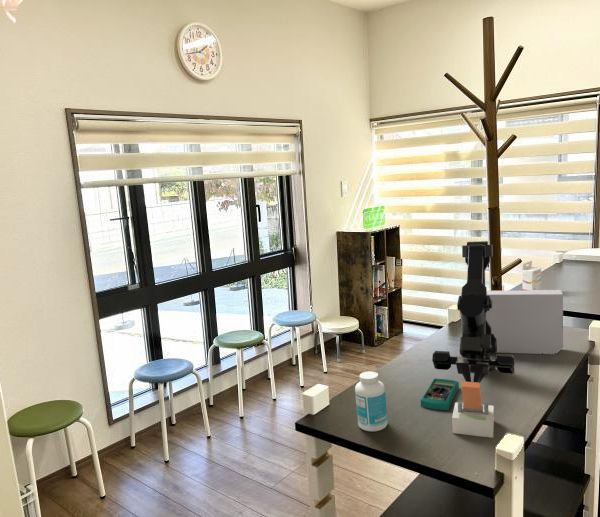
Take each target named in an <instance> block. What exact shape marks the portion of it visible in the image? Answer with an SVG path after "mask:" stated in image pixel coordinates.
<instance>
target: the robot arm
mask: <svg viewBox="0 0 600 517" xmlns="http://www.w3.org/2000/svg"><path fill="white" fill-rule="evenodd" d="M461 249H462V250H461V253H462V255H461V256H462V258H464V262H465V264H466V266H467V269H466V270H467V273H466V274H467V275H466V283H465V284H463V286H461V295H458V298H457V304H456V308H457V311H459V317H460V322H461V336H460V338H459V339H460V340H459V355H460V356H451V353H450V351H446V350H444V351H443V350H434V352H433V353H432V359H431V360H432V363H433V367H434V369H435V370H443V371H448V370H450V369H451V368H452V365H454V366H456V370H457V373H458V374H460V375H462V376H463V378H464V379H463V380H464V382H477V383H480V384H481V382H482V381H483V380H484V378H485V377H486V376H490V373H491V372H492V371H494V370H496V371H498V372H499V374H504V375H505V374H507V375H514V374H515V357H514V356H513V354H509V353H498V352H497V339H496V338H495V336H494V334H492V329H491V326H490V325H489V323H488V322H487V320H486V313H487V311H489V310H490V309H492V300H491V299H490V296H487V291H488V288H487V286H486V270H487V268H488V266H489V265H490V263H491V258H492V257H493V244H489V241H488V240H485V241H484V240H483V241H482V240H481V241H467V242H466V245H461ZM495 353H496V356H495V358H491V354H493V355H495ZM472 373H474V374H473V379H472V375H471V374H472ZM472 380H473V381H472Z"/></svg>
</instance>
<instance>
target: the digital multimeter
mask: <svg viewBox="0 0 600 517" xmlns="http://www.w3.org/2000/svg"><path fill="white" fill-rule="evenodd" d="M459 385H460V383H459V381H458V380H455V379H447V378H433V379H432V381H431V383H430V385H429V387H428V388H427V389H426V391H425V393H424V394H423V396H422V397H421V398H420V406H421V407H423V408H427V409H432V410H439V411H440V410H441V411H448V410H449V409H450V406H451V404H452V401H453V399H454V397H455V395H456V394H457V392H458V390H459V389H460V386H459Z"/></svg>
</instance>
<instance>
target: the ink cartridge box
mask: <svg viewBox="0 0 600 517" xmlns="http://www.w3.org/2000/svg"><path fill="white" fill-rule="evenodd" d="M532 263H533V261H532V260H530V261H526V262H524V263H522V274H521V276H522V277H521V278H522V279H521V280H522V282H521V283H522V284H521V285H522V291H527V290H542V267H534V266H532Z"/></svg>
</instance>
